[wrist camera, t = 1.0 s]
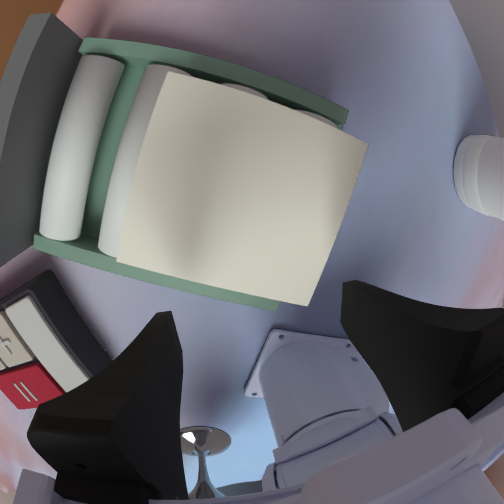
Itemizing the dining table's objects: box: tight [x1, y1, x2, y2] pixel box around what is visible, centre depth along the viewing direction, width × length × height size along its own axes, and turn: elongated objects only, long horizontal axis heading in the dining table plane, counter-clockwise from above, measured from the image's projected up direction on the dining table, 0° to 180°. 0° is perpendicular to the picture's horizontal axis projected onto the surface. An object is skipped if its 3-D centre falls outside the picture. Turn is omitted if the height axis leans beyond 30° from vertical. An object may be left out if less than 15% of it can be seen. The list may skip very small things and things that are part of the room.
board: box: [116, 71, 369, 306], centre depth 14 cm, size 10×9×2 cm
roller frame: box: [0, 13, 349, 311], centre depth 14 cm, size 20×14×7 cm
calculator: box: [0, 270, 112, 409], centre depth 19 cm, size 11×4×15 cm
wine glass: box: [180, 426, 231, 500], centre depth 20 cm, size 8×8×15 cm
